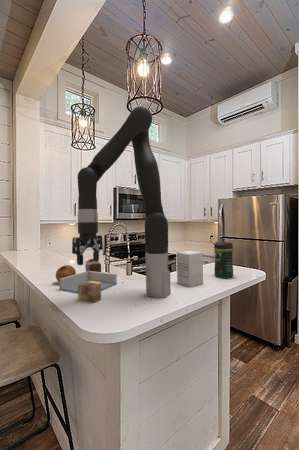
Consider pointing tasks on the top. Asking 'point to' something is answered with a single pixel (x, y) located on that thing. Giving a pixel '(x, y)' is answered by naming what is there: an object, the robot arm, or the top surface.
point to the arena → (88, 280)
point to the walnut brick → (89, 292)
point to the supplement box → (190, 268)
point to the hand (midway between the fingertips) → (88, 263)
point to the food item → (93, 266)
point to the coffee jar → (223, 259)
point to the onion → (65, 272)
